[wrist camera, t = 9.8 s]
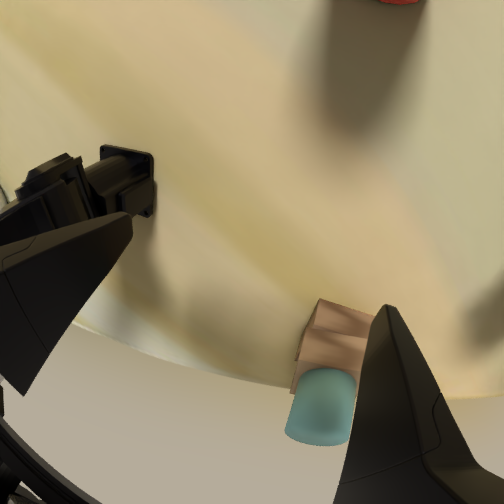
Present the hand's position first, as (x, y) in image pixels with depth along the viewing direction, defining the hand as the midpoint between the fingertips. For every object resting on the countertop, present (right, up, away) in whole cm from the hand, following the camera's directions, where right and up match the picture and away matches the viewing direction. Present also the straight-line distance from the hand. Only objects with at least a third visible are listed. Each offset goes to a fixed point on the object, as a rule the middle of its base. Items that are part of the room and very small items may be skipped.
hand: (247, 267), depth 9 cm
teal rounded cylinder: (+7, -11, +13) cm, 18 cm away
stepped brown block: (+8, -9, +16) cm, 19 cm away
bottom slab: (+9, -7, +18) cm, 21 cm away
